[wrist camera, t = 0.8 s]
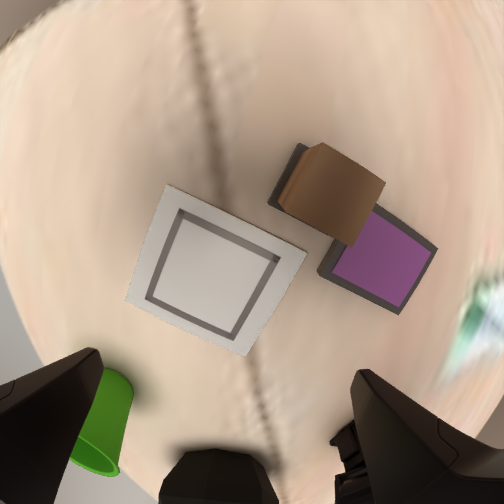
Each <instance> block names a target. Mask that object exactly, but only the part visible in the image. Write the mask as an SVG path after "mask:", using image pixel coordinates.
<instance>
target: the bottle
mask: <svg viewBox="0 0 504 504" xmlns="http://www.w3.org/2000/svg"><path fill="white" fill-rule="evenodd" d="M158 504H279V500H278V498H277V496H276V493H275V491H274V489H273V487H272V485H271V483H270V481H269V478H268V476H267V474H266V472H265V469H264V467H263V466H262V465H261V464H259V463H258V462H257V461H256V460H255V459H254V458H253V457H252V456H250V455H245V454H240V453H234V452H229V451H225V450H220V449H209V450H202V451H195V452H186V453H185V454H184V456H183V457H182V458H181V459H180V461H179V462H178V463H177V464H176V465H175V467H174V468H173V469H172V470H171V472H170V473H169V474H168V475H167V476H166V478H165V479H164V480H163V483H162V486H161V489H160V492H159V502H158Z"/></svg>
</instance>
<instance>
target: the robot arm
mask: <svg viewBox="0 0 504 504" xmlns="http://www.w3.org/2000/svg"><path fill="white" fill-rule="evenodd" d="M103 372H104V366H103V363H102V359H101V356H100V353H99V351H98V350H97V349H95V348H90V347H87V348H85V349H83V350H80V351H78V352H76V353H74V354H72V355H69V356H67V357H65V358H63V359H60V360H58V361H56V362H54V363H51V364H49V365H47V366H45V367H42V368H40V369H38V370H36V371H33V372H32V373H29V374H27V375H24V376H22V377H20V378H17V379H16V380H13V381H10V382H8V383H6V384H3V385H1V386H0V504H54V501H55V498H56V495H57V491H58V488H59V485H60V482H61V480H62V477H63V474H64V471H65V469H66V466H67V463H68V461H69V458H70V456H71V453H72V451H73V448H74V446H75V443H76V441H77V439H78V436H79V434H80V431H81V429H82V427H83V425H84V422H85V420H86V418H87V416H88V413H89V411H90V409H91V407H92V404H93V401H94V399H95V396H96V393H97V390H98V387H99V384H100V381H101V378H102V375H103ZM350 393H351V399H352V406H353V412H354V419H355V420H354V421H353V422H352V423H351V424H349V425H348V426H347V427H346V428H345V429H344V430H343V431H342V432H341V433H339V434H338V435H337V436H336V437H335V438H334V439H333V440H331V441H330V445H331V446H337V447H338V450H339V454H340V458H341V462H343V463H344V467H345V473H342V474H337V475H335V504H504V449H496V448H493V447H490V446H488V445H486V444H484V443H482V442H480V441H478V440H476V439H474V438H472V437H470V436H468V435H466V434H464V433H463V432H461V431H459V430H457V429H455V428H454V427H452V426H451V425H449V424H447V423H446V422H444V421H443V420H441V419H440V418H438V417H437V416H435V415H434V414H433V413H431V412H430V411H428V410H427V409H425V408H424V407H422V406H421V405H419V404H418V403H416V402H415V401H414V400H412V399H411V398H409V397H408V396H406V395H405V394H404V393H402V392H401V391H399V390H398V389H396V388H395V387H394V386H392V385H391V384H389V383H388V382H387V381H385V380H384V379H382V378H381V377H380V376H378V375H377V374H375V373H374V372H373V371H371V370H370V369H359V370H357V372H356V374H355V376H354V379H353V382H352V385H351V388H350Z"/></svg>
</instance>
